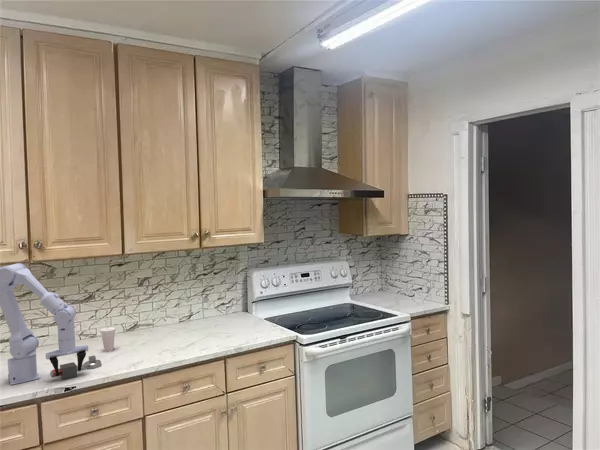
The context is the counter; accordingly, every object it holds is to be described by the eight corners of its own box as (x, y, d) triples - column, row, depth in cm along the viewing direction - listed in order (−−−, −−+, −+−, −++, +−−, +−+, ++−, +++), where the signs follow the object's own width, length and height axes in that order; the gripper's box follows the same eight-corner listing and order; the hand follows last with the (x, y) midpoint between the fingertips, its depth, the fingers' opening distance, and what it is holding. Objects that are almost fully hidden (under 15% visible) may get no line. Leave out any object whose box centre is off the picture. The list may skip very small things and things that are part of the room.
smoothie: (99, 350, 209) (97, 319, 208) (113, 346, 213) (111, 316, 212) (104, 353, 204) (103, 322, 203) (119, 349, 208) (117, 319, 208)
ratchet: (52, 378, 177) (52, 367, 176) (49, 373, 182) (49, 363, 182) (102, 367, 188) (102, 356, 187) (98, 362, 193) (98, 352, 193)
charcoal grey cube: (62, 380, 174) (62, 368, 174) (60, 376, 178) (59, 365, 178) (77, 377, 177) (76, 365, 177) (74, 373, 181) (73, 362, 181)
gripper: (47, 344, 169) (49, 381, 170) (89, 336, 178) (91, 371, 179) (43, 340, 175) (45, 375, 175) (85, 332, 183) (86, 366, 184)
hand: (68, 373), depth 177 cm, fingers open, 7 cm apart
